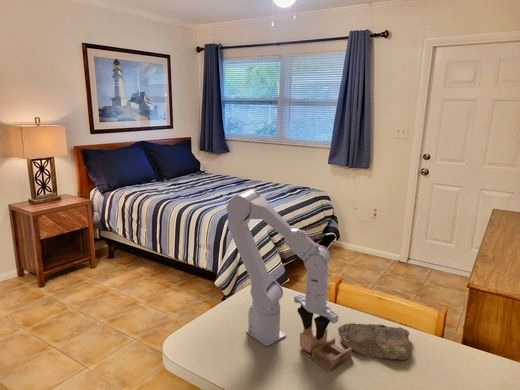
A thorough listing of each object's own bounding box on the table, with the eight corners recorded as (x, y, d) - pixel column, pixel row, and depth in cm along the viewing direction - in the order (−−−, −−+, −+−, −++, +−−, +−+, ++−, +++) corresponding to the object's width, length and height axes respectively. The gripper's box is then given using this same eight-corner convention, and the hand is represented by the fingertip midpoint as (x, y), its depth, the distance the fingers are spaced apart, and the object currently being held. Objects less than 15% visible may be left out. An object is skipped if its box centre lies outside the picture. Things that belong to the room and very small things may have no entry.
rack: (329, 371, 98) (330, 362, 98) (311, 359, 103) (312, 350, 102) (351, 357, 104) (351, 348, 103) (333, 346, 108) (333, 337, 108)
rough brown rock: (334, 352, 106) (410, 366, 100) (335, 336, 105) (412, 350, 99) (340, 326, 120) (408, 337, 113) (341, 312, 119) (409, 322, 112)
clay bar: (310, 353, 104) (310, 338, 103) (299, 346, 107) (300, 332, 106) (326, 343, 109) (327, 329, 108) (316, 336, 112) (316, 323, 111)
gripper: (346, 296, 101) (343, 341, 104) (306, 277, 112) (304, 318, 115) (329, 305, 97) (326, 351, 100) (289, 284, 107) (288, 326, 111)
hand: (313, 334), depth 107 cm, fingers closed on clay bar, 4 cm apart
